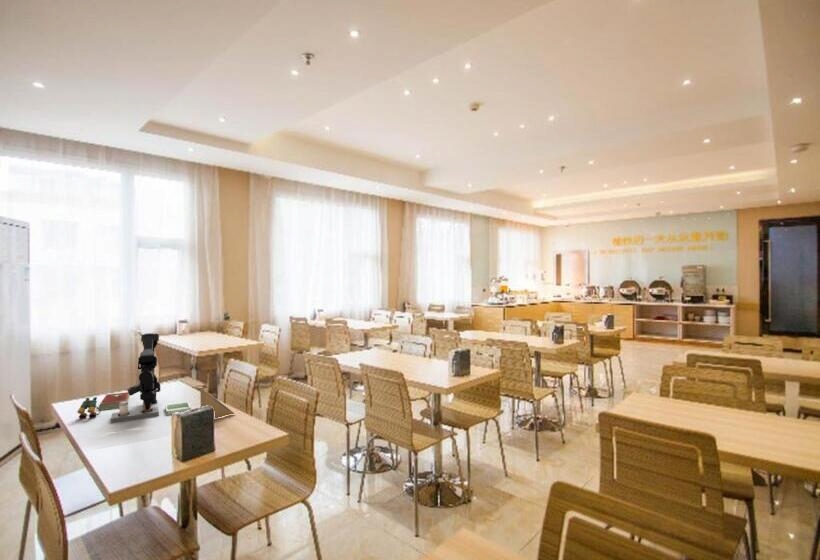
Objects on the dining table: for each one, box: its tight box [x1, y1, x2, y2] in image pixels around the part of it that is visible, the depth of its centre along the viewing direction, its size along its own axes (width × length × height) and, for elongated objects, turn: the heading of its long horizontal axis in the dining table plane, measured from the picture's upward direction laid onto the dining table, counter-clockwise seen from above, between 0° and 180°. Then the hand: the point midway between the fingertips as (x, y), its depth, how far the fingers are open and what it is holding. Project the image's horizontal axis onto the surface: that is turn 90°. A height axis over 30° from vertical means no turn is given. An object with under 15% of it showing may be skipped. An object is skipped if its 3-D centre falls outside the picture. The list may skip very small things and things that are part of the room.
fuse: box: [118, 400, 129, 416], centre depth 213 cm, size 4×4×8 cm
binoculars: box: [76, 396, 102, 419], centre depth 216 cm, size 9×9×10 cm
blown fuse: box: [142, 400, 152, 413], centre depth 218 cm, size 4×4×8 cm
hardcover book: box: [98, 391, 130, 411], centre depth 239 cm, size 12×21×4 cm, turn 28°
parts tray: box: [164, 401, 192, 416], centre depth 226 cm, size 12×11×2 cm
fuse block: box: [110, 406, 160, 424], centre depth 216 cm, size 10×20×2 cm, turn 123°
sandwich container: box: [200, 388, 235, 418], centre depth 218 cm, size 9×15×15 cm, turn 134°
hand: (147, 408), depth 218 cm, fingers closed on blown fuse, 4 cm apart
